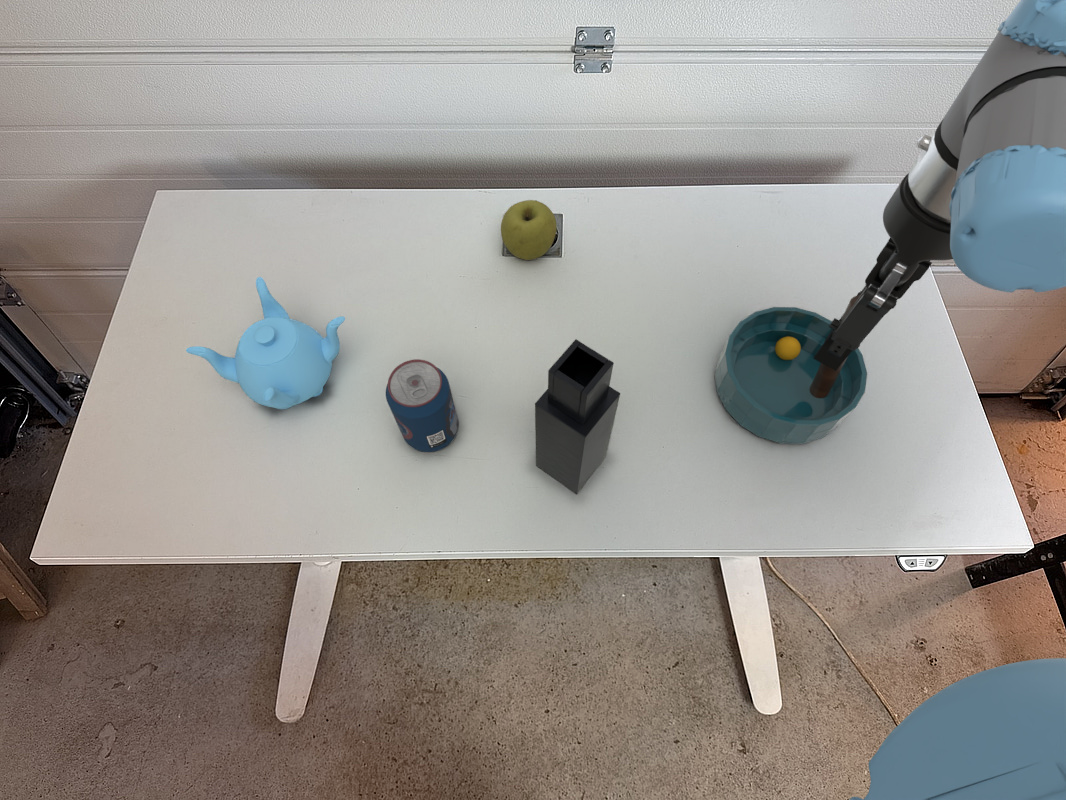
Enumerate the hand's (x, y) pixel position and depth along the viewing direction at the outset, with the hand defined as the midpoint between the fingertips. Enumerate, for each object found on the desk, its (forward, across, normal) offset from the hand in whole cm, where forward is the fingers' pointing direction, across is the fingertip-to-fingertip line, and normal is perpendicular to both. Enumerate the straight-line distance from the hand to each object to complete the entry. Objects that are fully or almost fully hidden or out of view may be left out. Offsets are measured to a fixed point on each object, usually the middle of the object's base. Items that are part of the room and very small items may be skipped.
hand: (831, 353), depth 70 cm
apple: (+10, +1, -42) cm, 43 cm away
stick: (+7, 0, +1) cm, 7 cm away
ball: (+8, -4, -4) cm, 10 cm away
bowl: (+10, 0, -3) cm, 11 cm away
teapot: (+10, +36, -53) cm, 65 cm away
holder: (+10, +24, -18) cm, 32 cm away
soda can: (+10, +31, -34) cm, 47 cm away
